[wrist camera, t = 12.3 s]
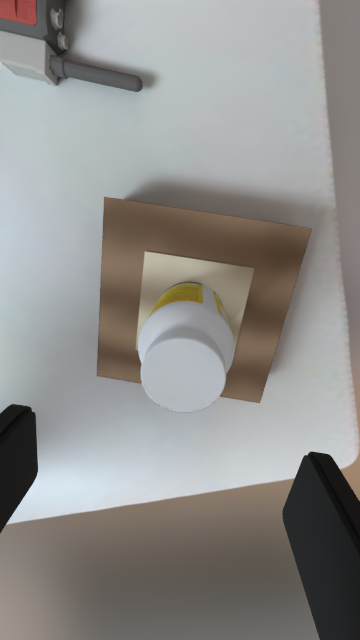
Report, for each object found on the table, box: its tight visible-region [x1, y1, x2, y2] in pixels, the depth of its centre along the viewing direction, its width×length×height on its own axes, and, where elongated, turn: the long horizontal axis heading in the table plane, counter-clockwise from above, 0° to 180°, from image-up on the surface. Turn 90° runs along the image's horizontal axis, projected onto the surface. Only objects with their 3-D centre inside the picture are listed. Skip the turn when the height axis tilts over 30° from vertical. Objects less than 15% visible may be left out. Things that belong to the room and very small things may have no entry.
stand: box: [97, 197, 312, 403], centre depth 27 cm, size 18×18×4 cm
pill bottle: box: [138, 281, 235, 413], centre depth 19 cm, size 6×6×12 cm
